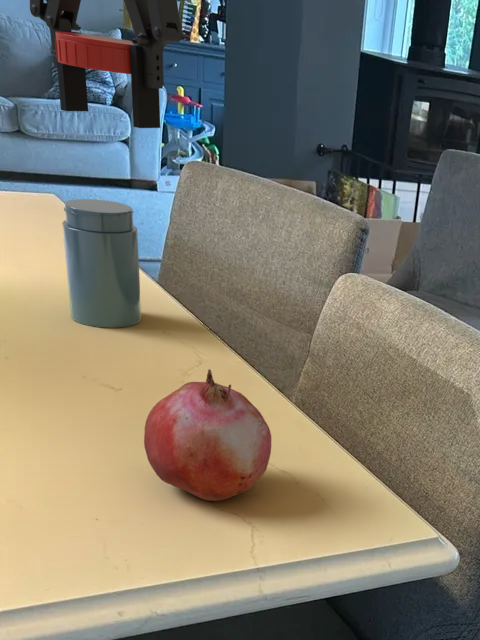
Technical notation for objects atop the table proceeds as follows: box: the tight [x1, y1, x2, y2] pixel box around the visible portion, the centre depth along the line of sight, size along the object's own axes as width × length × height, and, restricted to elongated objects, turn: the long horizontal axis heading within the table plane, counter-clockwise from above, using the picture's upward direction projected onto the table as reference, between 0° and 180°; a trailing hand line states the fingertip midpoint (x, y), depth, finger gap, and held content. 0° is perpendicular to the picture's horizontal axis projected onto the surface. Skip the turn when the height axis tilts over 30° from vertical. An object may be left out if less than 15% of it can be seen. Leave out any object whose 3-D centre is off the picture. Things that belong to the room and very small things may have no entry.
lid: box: [55, 31, 134, 75], centre depth 81 cm, size 8×8×2 cm
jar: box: [62, 198, 142, 329], centre depth 98 cm, size 8×8×12 cm
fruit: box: [143, 368, 272, 502], centre depth 67 cm, size 9×10×10 cm
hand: (110, 118), depth 84 cm, fingers closed on lid, 8 cm apart
